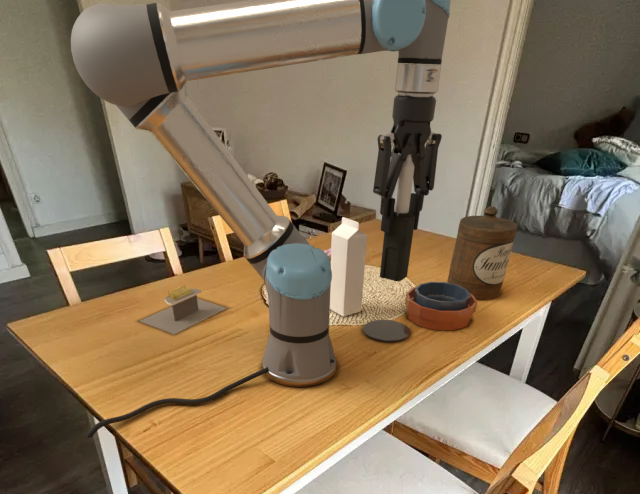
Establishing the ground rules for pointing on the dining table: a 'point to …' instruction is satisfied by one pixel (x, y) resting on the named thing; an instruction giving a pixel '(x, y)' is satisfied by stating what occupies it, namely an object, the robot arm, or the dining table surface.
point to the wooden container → (482, 253)
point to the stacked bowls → (440, 305)
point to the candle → (399, 229)
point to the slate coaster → (386, 331)
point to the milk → (347, 267)
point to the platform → (182, 311)
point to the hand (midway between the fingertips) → (399, 229)
